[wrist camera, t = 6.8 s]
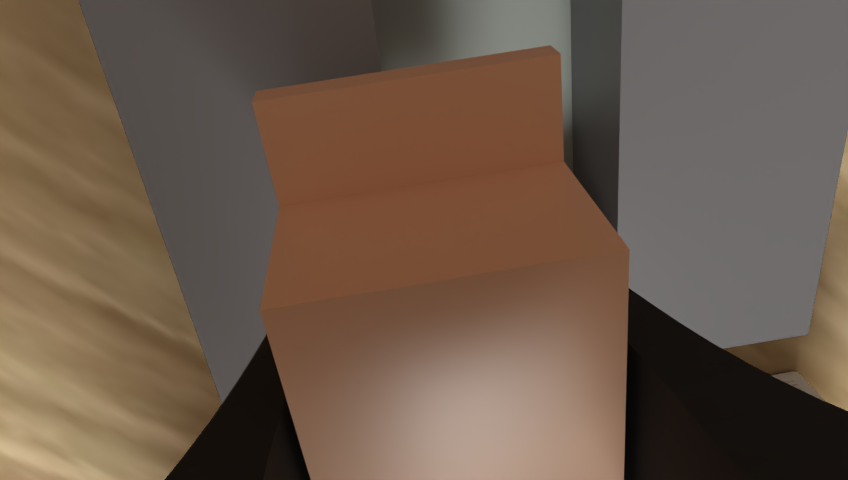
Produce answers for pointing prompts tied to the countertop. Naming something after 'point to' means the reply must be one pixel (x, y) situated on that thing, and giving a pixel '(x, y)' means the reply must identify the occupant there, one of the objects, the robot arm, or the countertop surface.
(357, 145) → the block
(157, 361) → the countertop surface
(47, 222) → the countertop surface
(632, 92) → the grey square frame
